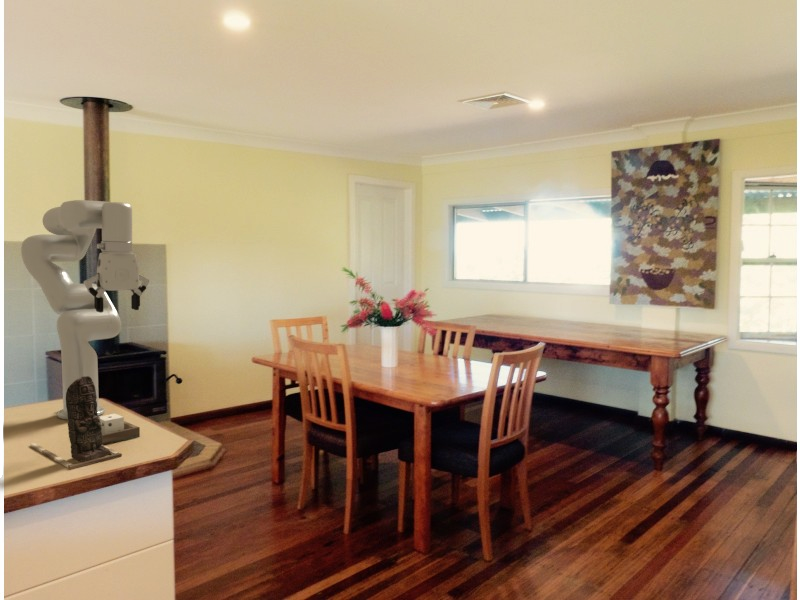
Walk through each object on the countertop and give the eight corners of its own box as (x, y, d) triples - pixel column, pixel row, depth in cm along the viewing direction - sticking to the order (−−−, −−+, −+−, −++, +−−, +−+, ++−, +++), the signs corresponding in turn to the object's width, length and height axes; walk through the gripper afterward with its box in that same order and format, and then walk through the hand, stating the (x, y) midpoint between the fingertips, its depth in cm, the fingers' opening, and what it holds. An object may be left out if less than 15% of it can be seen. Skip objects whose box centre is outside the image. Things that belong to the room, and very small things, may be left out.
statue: (87, 463, 147) (84, 380, 145) (65, 458, 150) (62, 377, 148) (110, 454, 153) (108, 374, 152) (89, 450, 156) (86, 371, 154)
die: (96, 435, 166) (96, 417, 166) (115, 431, 170) (114, 413, 169) (105, 439, 163) (104, 420, 162) (124, 435, 167) (123, 416, 166)
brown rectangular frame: (30, 445, 158) (30, 443, 158) (79, 435, 168) (79, 433, 168) (70, 469, 143) (70, 466, 143) (121, 456, 152) (121, 453, 152)
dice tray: (79, 436, 166) (79, 427, 166) (120, 428, 175) (120, 419, 174) (98, 446, 159) (98, 436, 159) (139, 436, 168) (139, 427, 167)
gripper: (89, 248, 160) (90, 314, 162) (154, 249, 173) (154, 310, 174) (78, 247, 165) (79, 311, 167) (142, 247, 178) (142, 307, 179)
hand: (117, 310), depth 171 cm, fingers open, 9 cm apart
